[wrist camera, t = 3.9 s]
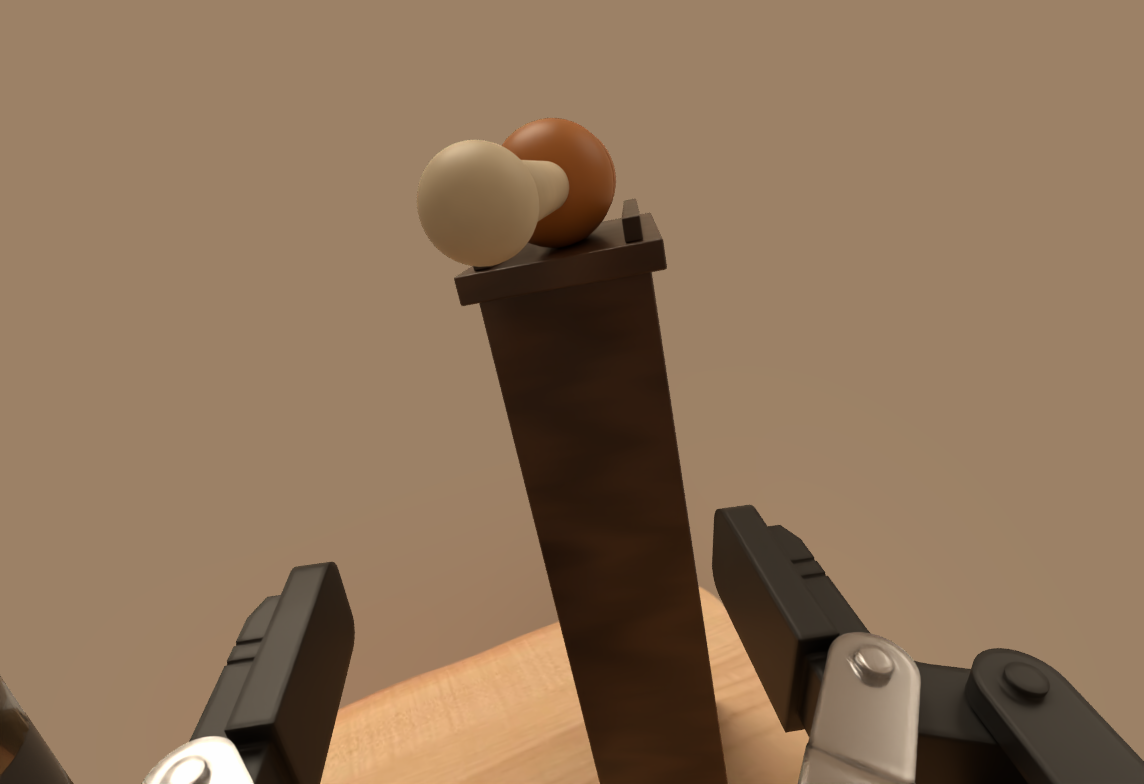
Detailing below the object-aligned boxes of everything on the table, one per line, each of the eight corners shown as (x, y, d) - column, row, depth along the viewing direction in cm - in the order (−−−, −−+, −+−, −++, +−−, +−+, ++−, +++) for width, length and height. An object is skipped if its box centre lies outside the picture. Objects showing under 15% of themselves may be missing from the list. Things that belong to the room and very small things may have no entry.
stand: (611, 880, 30) (446, 253, 20) (615, 699, 40) (508, 223, 30) (752, 876, 29) (659, 212, 19) (719, 691, 39) (648, 195, 29)
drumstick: (379, 355, 11) (296, 94, 9) (532, 238, 28) (511, 139, 27) (617, 316, 10) (567, 27, 9) (624, 220, 28) (607, 118, 26)
